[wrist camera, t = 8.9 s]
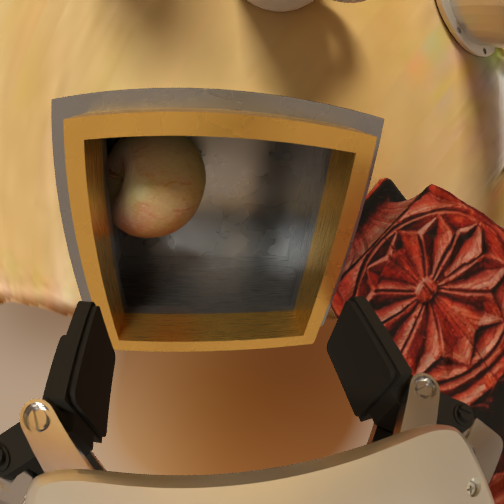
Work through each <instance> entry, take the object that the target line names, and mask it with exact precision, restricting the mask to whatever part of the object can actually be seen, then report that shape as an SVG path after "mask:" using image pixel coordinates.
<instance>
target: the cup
mask: <svg viewBox="0 0 504 504" xmlns="http://www.w3.org/2000/svg"><path fill="white" fill-rule="evenodd" d="M247 1H248V2H250V3H251V4H253V5H255V6H257V7H260V8H262V9H265V10H270V11H275V12H287V11H292V10H297V9H299V8H301V7H303V6H306V5H308V4H310V3H311V2H313V1H314V0H247ZM334 1H338V2H344V3H356V2H362V1H365V0H334Z"/></svg>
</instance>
